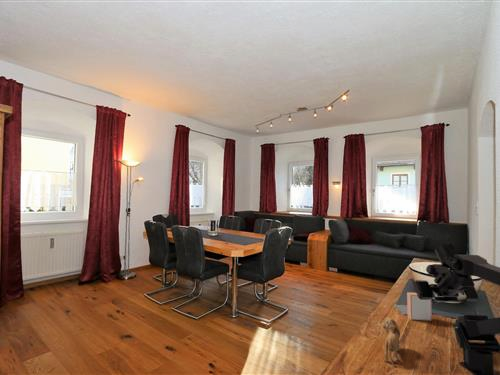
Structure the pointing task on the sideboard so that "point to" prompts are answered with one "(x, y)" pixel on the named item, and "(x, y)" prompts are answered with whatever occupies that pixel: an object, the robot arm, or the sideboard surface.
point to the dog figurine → (391, 339)
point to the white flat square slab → (402, 309)
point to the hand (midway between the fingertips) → (435, 301)
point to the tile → (418, 308)
